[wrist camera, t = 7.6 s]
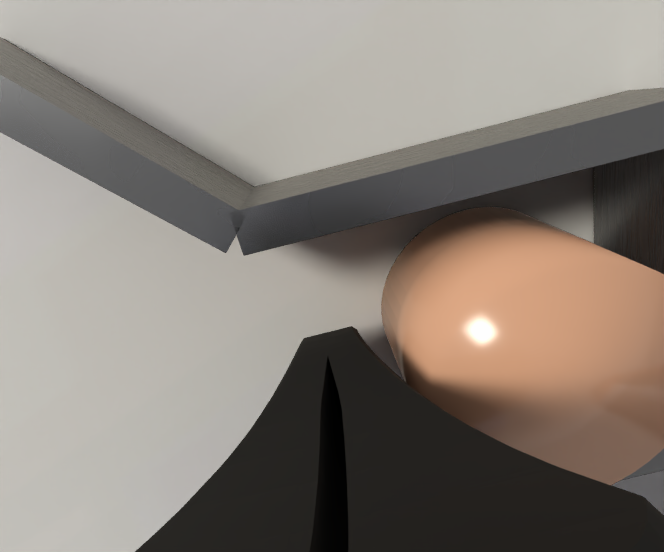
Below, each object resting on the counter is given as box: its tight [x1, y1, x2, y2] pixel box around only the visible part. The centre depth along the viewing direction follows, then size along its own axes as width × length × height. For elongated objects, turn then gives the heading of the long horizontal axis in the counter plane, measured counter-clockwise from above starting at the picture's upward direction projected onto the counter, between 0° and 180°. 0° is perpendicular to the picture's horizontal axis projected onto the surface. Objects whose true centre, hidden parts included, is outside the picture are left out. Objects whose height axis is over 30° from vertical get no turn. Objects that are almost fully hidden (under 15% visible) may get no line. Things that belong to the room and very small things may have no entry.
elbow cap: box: [381, 207, 664, 485], centre depth 9 cm, size 5×5×4 cm
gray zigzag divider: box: [0, 37, 664, 480], centre depth 10 cm, size 17×13×2 cm
